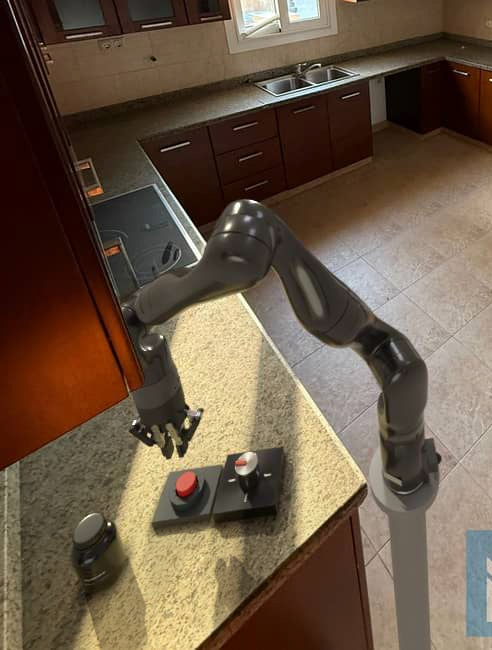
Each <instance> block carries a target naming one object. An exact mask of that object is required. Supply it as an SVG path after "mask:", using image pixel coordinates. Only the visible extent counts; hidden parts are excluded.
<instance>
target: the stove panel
mask: <svg viewBox="0 0 492 650" xmlns="http://www.w3.org/2000/svg"><path fill="white" fill-rule="evenodd" d="M247 452H248V451H243V452H237V453H229V454H227V455H226V458H225V463H224V465H223V469H224V470H223V474H222V478H221V482H220V486H219V490H218V494H217V498H216V502H215V506H214V509H213V513H212V518H213V523H214V525H218V524H224V523H231V522H237V521H244V520H250V519H256V518H262V517H263V518H264V517H268V516H275V515H278V510H279V503H280V496H281V487H282V480H283V473H284V465H285V457H286V455H285V449H284V446H278V447H271V448H264V449H258V450H251V451H249V452H253V453H255V454H256V455H257V458H258V462H259V467H260V471H261V477H260V480H259V482H258V483H257V485H256V486H255V487H253V488H252V489H249V490H243V489H241V488H240V486H239V483H238V479H237V475H236V471H235V463H236V462H237V460H238V459H239V457H240V456H241V455H243V454H244V453H247Z"/></svg>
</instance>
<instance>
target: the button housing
mask: <svg viewBox="0 0 492 650" xmlns="http://www.w3.org/2000/svg"><path fill="white" fill-rule="evenodd" d="M223 470H224V465H223V464H215V465H209V466H208V465H207V466H203V467H195V468H189V469H182V470H175V471H169V473H168V476H167V478H166V480H165V484H164V486H163V490H162V492H161V495H160V498H159V500H158V503H157V506H156V508H155V511H154V514H153V517H152V520H151V522H150V523H151V526H152V528H153V529H155V528H156V529H157V528H163V527H168V526H174V525H175V526H176V525H181V524H188V523H195V522H200V521H206V520H207V521H208V520H212V518H213V515H212V513H213V509H214V506H215V502H216V498H217V494H218V490H219V486H220V482H221V478H222V474H223ZM186 472H193V473H194V474H195V477H196V480H197V485H196V488H195V489H194V491H193V492H192V493H191V494H190V495H188V496H186V497H180V496H179V495H178V493H177V490H176V483H177V481H178V479H179V478H180V476H181V475H183V474H184V473H186Z"/></svg>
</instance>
